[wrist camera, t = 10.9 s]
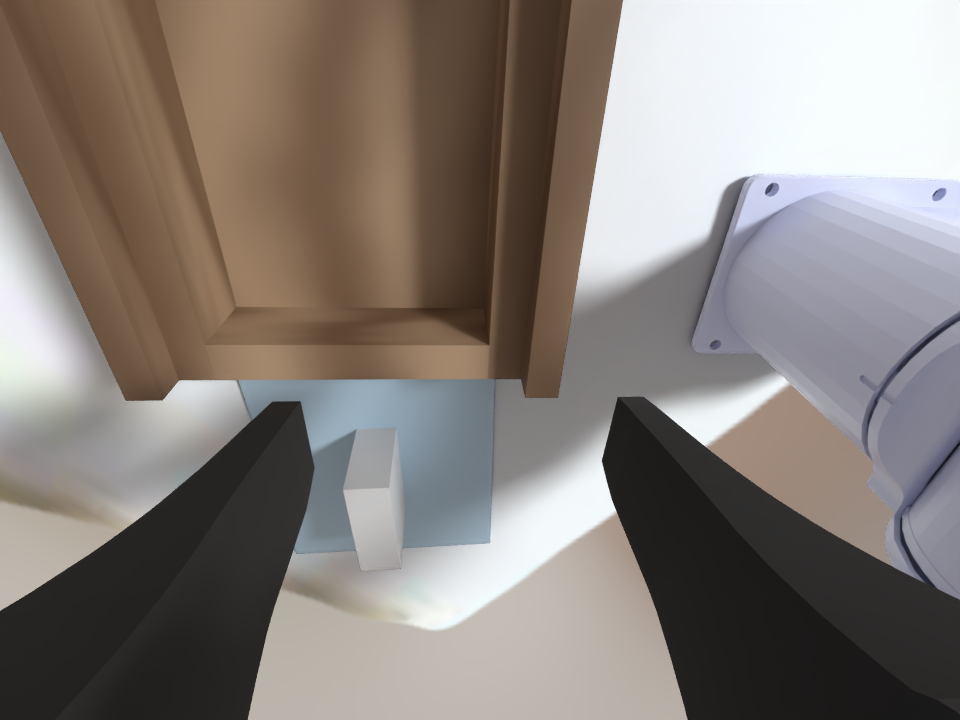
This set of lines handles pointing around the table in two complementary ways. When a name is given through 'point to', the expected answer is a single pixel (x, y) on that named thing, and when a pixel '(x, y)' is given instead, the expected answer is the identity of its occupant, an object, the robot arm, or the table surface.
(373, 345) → the walnut box
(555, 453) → the table surface
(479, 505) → the cover plate
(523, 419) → the table surface
